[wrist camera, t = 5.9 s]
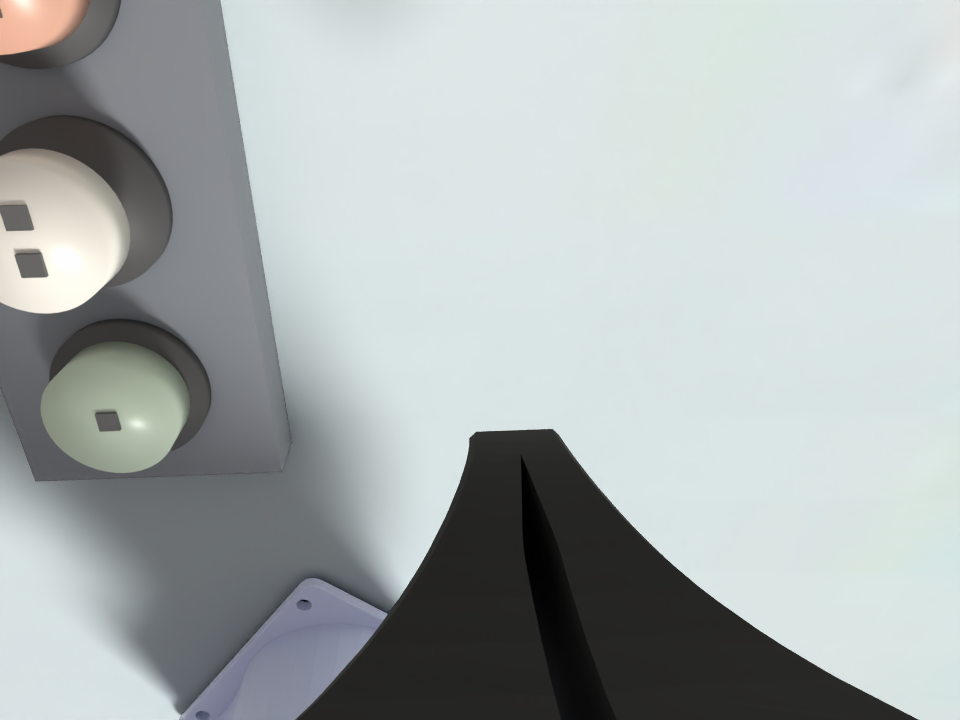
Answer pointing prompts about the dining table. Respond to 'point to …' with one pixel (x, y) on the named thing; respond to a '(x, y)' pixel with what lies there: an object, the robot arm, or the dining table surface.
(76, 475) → the button panel
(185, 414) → the button one
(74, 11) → the button three
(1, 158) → the button two
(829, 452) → the dining table surface
